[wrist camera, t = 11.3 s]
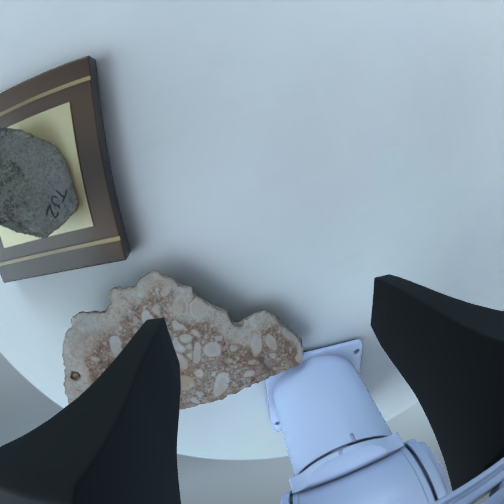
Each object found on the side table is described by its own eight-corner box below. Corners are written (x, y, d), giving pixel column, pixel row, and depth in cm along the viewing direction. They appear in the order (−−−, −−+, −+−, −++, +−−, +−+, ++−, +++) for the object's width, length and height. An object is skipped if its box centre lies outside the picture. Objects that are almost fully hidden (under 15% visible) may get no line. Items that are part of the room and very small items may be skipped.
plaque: (130, 252, 18) (126, 261, 17) (11, 275, 17) (2, 284, 16) (95, 59, 14) (88, 54, 12) (-27, 114, 13) (-38, 114, 12)
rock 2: (85, 438, 18) (7, 330, 14) (89, 404, 21) (26, 302, 17) (313, 369, 21) (288, 237, 17) (292, 341, 24) (266, 221, 21)
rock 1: (80, 217, 18) (81, 255, 14) (-21, 229, 14) (-44, 270, 10) (80, 116, 15) (77, 124, 11) (-30, 130, 11) (-64, 145, 7)
